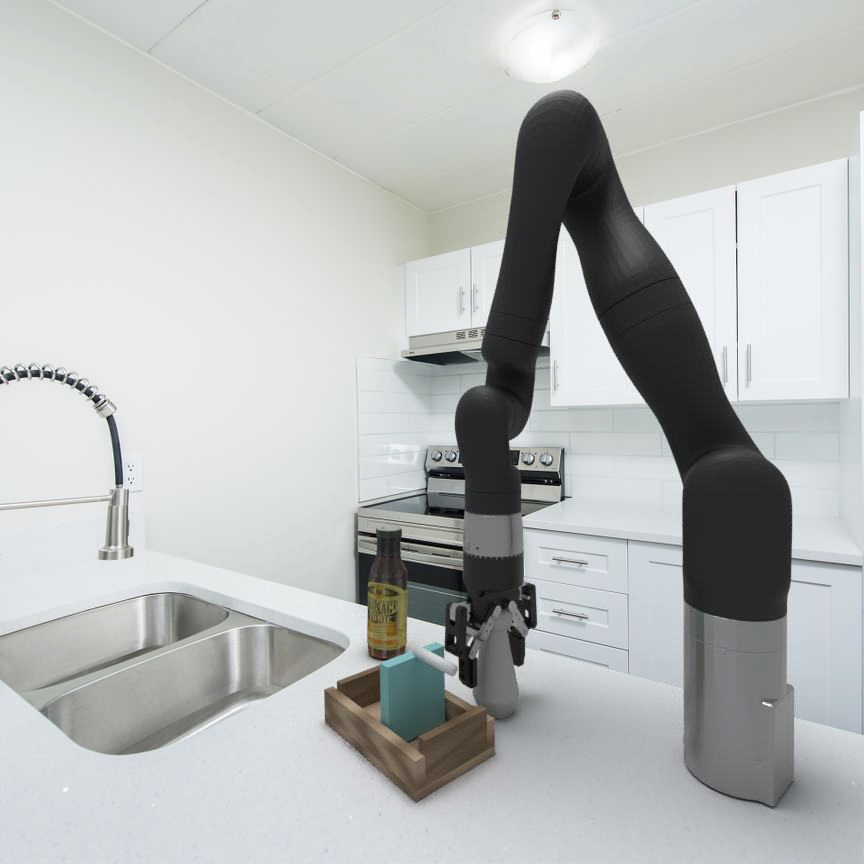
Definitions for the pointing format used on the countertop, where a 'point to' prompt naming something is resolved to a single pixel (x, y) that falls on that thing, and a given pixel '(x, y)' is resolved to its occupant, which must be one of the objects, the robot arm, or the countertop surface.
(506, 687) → the salt shaker
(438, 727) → the wooden tray
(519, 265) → the robot arm
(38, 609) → the countertop surface
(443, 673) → the pusher paddle
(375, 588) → the sauce bottle
